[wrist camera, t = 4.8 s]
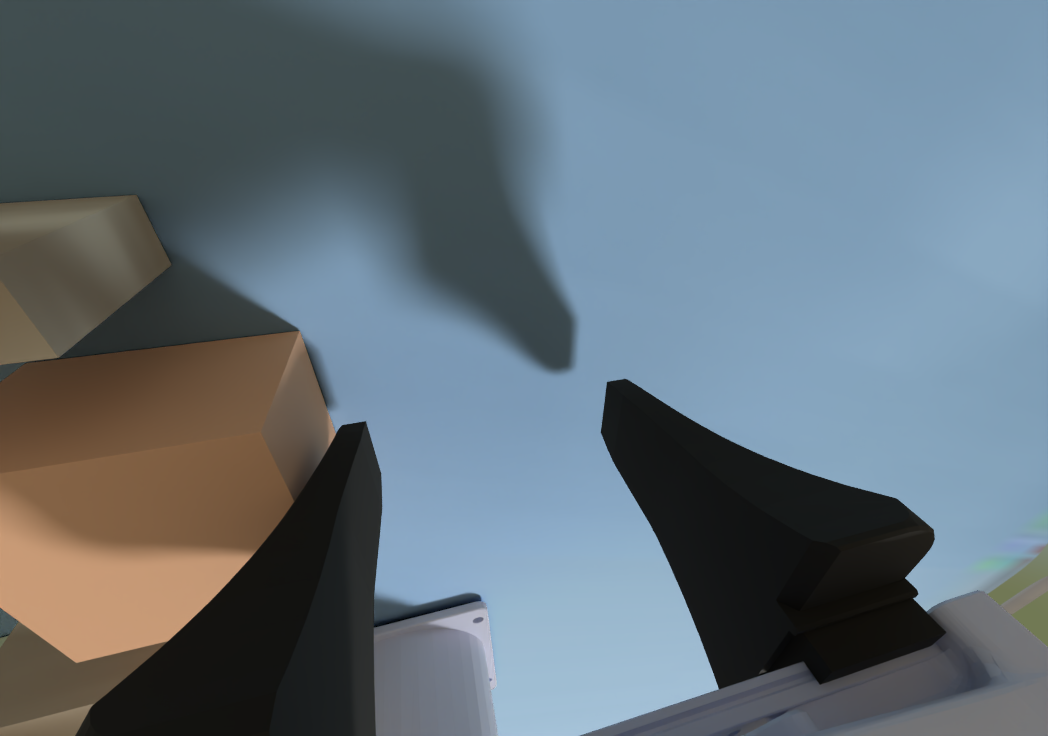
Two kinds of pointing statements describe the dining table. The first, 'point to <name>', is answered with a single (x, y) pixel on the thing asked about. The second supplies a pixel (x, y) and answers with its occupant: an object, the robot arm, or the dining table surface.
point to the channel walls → (48, 332)
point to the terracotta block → (148, 482)
